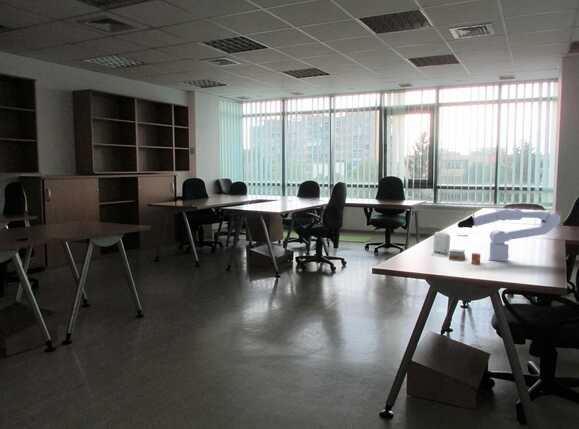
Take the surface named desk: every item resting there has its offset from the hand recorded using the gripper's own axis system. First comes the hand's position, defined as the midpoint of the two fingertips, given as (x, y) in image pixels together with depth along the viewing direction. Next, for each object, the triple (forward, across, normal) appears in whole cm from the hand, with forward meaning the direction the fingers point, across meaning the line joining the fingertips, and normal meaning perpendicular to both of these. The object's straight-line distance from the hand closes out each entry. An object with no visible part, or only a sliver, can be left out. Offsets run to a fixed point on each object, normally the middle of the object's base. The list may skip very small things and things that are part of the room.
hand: (458, 225), depth 264 cm
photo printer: (+11, -20, +12) cm, 26 cm away
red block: (-2, +8, +22) cm, 24 cm away
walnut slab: (+6, -3, +18) cm, 19 cm away
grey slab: (+5, -2, +16) cm, 17 cm away
